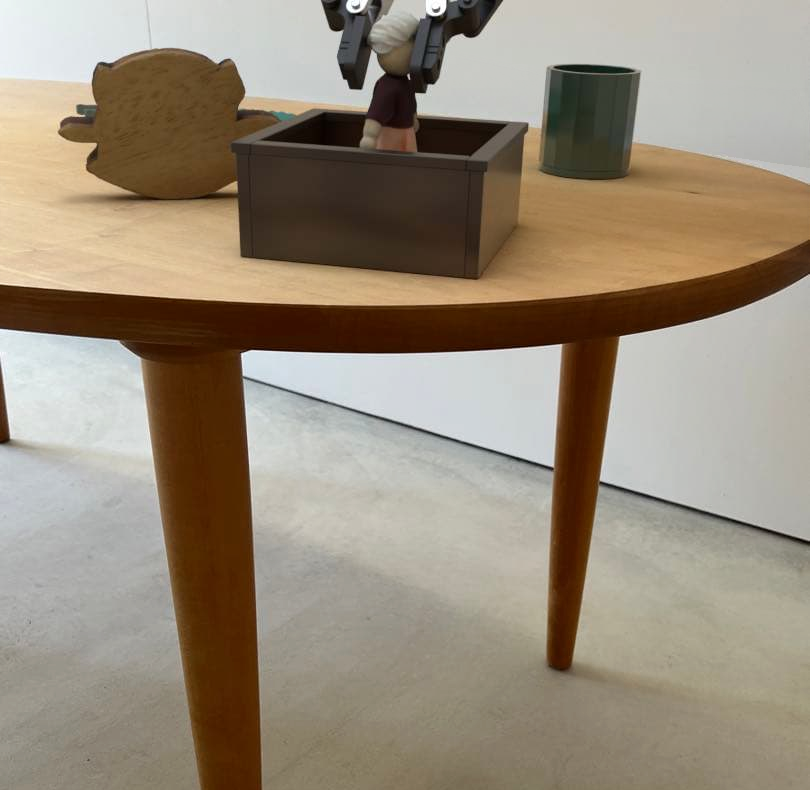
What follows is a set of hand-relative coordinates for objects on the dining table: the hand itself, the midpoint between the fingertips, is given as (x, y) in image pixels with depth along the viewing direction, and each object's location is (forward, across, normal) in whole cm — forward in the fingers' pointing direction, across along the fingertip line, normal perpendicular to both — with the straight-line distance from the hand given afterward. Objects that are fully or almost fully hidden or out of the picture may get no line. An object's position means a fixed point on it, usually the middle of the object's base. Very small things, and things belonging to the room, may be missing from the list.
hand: (385, 81), depth 65 cm
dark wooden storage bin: (+6, 0, +8) cm, 10 cm away
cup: (-15, +9, +29) cm, 34 cm away
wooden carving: (+1, -18, +13) cm, 22 cm away
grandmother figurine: (+5, 0, +8) cm, 9 cm away
